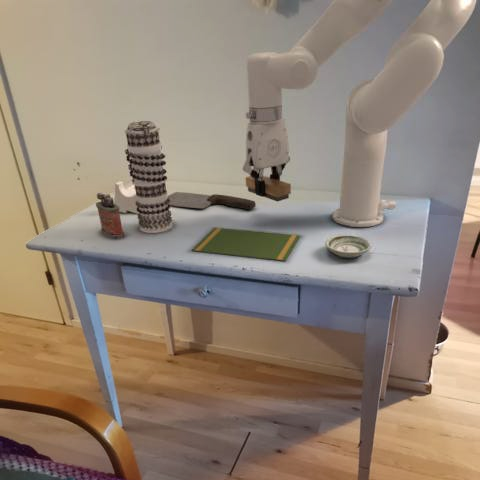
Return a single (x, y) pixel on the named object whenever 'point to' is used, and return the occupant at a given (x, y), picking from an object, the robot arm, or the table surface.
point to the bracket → (125, 198)
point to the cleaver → (208, 200)
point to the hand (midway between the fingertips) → (267, 192)
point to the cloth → (248, 244)
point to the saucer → (348, 245)
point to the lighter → (109, 217)
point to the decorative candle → (148, 176)
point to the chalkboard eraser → (271, 188)
